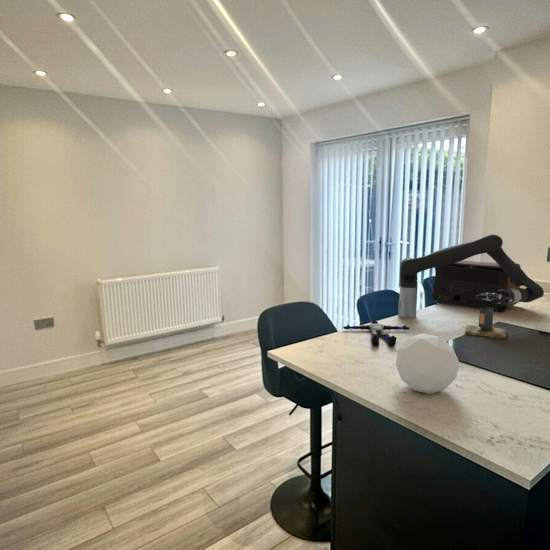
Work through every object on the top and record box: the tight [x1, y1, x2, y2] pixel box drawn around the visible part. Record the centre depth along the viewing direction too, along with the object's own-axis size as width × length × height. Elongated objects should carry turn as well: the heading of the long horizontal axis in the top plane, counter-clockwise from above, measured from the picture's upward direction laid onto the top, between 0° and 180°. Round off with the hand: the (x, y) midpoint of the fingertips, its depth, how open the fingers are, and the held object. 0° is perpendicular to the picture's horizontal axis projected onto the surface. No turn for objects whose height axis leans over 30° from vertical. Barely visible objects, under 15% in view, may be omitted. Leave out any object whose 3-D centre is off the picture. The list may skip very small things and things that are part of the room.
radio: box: [431, 260, 522, 313], centre depth 244 cm, size 45×32×28 cm
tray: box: [464, 324, 507, 340], centre depth 191 cm, size 17×12×4 cm
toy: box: [342, 319, 410, 348], centre depth 190 cm, size 33×6×30 cm
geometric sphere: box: [395, 332, 460, 395], centre depth 132 cm, size 19×20×20 cm
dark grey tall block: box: [478, 307, 494, 332], centre depth 190 cm, size 5×4×11 cm
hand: (484, 299), depth 188 cm, fingers open, 8 cm apart
